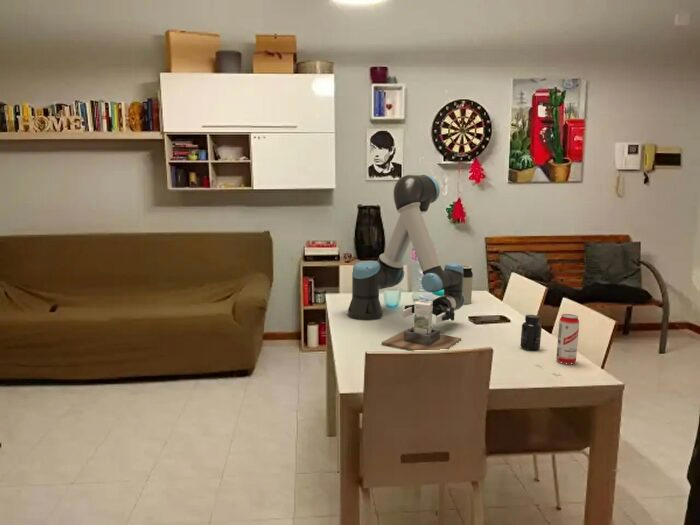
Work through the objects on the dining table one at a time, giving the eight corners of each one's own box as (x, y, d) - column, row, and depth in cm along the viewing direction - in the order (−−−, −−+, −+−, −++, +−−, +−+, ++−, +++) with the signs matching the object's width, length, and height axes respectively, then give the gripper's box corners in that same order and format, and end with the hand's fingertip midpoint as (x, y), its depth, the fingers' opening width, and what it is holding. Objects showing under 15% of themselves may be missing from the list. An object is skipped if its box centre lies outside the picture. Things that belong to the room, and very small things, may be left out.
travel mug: (468, 305, 265) (470, 268, 262) (452, 303, 269) (454, 266, 266) (472, 302, 272) (474, 265, 270) (456, 300, 276) (458, 264, 273)
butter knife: (557, 376, 174) (564, 375, 175) (506, 353, 195) (513, 352, 197) (557, 378, 174) (564, 376, 175) (506, 354, 195) (513, 353, 197)
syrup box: (431, 338, 208) (433, 300, 206) (428, 343, 202) (429, 304, 200) (416, 337, 210) (418, 299, 208) (412, 341, 204) (414, 302, 202)
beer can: (552, 358, 191) (556, 313, 188) (570, 358, 192) (574, 313, 189) (561, 365, 185) (565, 318, 182) (579, 364, 185) (583, 318, 183)
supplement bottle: (541, 351, 198) (543, 319, 196) (521, 350, 200) (523, 317, 198) (538, 346, 205) (541, 314, 203) (519, 344, 206) (521, 313, 204)
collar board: (381, 344, 203) (381, 332, 202) (408, 330, 221) (408, 319, 221) (437, 356, 191) (438, 343, 191) (461, 340, 210) (461, 329, 209)
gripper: (472, 320, 214) (451, 333, 196) (414, 310, 227) (389, 321, 210) (473, 301, 213) (452, 312, 195) (414, 292, 226) (389, 302, 208)
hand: (419, 317), depth 202 cm, fingers open, 13 cm apart
